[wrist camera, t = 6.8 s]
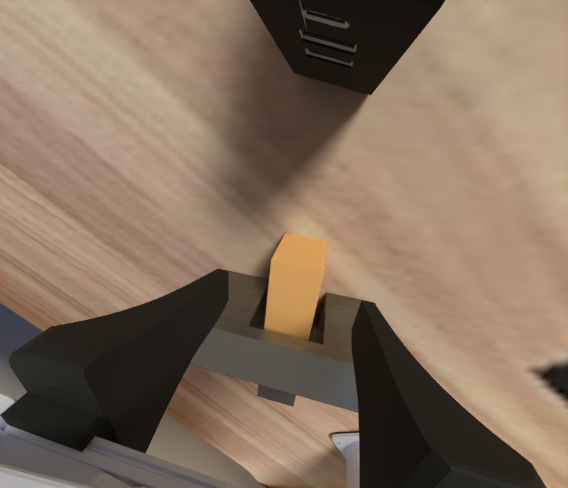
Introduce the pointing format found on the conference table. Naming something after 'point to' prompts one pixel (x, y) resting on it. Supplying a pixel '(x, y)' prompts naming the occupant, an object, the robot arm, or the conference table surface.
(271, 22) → the electronic device
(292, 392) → the grey rectangular block
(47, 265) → the conference table surface
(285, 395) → the orange and grey bar
